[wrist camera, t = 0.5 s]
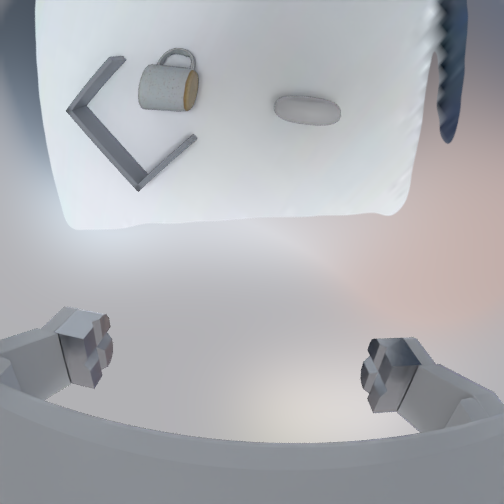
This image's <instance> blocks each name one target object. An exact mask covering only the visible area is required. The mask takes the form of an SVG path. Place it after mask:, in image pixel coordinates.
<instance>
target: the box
mask: <svg viewBox="0 0 504 504" xmlns="http://www.w3.org/2000/svg"><path fill="white" fill-rule="evenodd" d="M125 61H126V59H125V58H124V57H123V56H116V57H109V58H108V59H107V60H106V61H105V62H104V64H103V65H102V66H101V67H100V68H99V69H98V70H97V72H96V73H95V74H94V75H93V76H92V78H91V79H90V80H89V81H88V83H87V84H86V85H85V86H84V88H83V89H82V90H81V91H80V93H79V94H78V95H77V97H76V98H75V99H74V100H73V102H72V103H71V104H70V106H69V107H68V109H67V110H66V112H67V113H68V114H69V115H70V116H71V117H72V119H73V120H74V121H75V122H76V123H77V124H78V126H79V127H80V128H81V129H82V130H83V131H84V132H85V134H86V135H87V136H88V137H89V138H90V139H91V140H92V141H93V143H94V144H95V145H96V146H97V147H98V148H99V149H100V150H101V152H102V153H103V154H104V155H105V156H106V157H107V158H108V159H109V160H110V162H111V163H112V164H113V165H114V166H115V167H116V168H117V169H118V170H119V172H120V173H121V174H122V175H123V176H124V177H125V178H126V179H127V180H128V181H129V182H130V184H131V185H132V186H133V187H134V188H135V189H136V190H137V191H138V192H139V191H140V190H141V189H142V188H143V187H144V186H145V185H146V184H147V183H148V182H149V181H150V180H151V179H152V178H153V177H155V176H156V175H157V174H158V173H159V172H160V171H161V170H162V169H163V168H164V167H166V166H167V165H168V164H169V163H170V162H171V161H172V160H173V159H175V158H176V157H177V156H178V155H179V154H180V153H182V152H183V151H184V150H185V149H186V148H187V147H189V146H190V145H191V144H192V143H193V142H194V141H195V140H196V139H197V138H196V136H195V135H194V134H193V135H192V136H191V137H190V138H189V139H187V140H186V141H185V142H184V143H183V144H182V145H180V146H179V147H178V148H177V149H176V150H175V151H174V152H172V153H171V154H170V155H169V156H168V157H167V158H166V159H165V160H164V161H162V162H161V163H160V164H159V165H158V166H157V167H156V168H155V169H154V170H153V171H152V172H150V173H149V174H147V173H146V172H145V170H144V169H143V168H142V167H141V166H140V165H139V164H138V163H137V162H136V161H135V159H134V158H133V157H132V156H131V155H130V154H129V153H128V152H127V151H126V150H125V148H124V147H123V146H122V145H121V144H120V143H119V142H118V141H117V139H116V138H115V137H114V136H113V135H112V134H111V133H110V132H109V131H108V129H107V128H106V127H105V126H104V125H103V124H102V123H101V122H100V120H99V119H98V118H97V117H96V116H95V115H94V114H93V113H92V111H91V110H90V109H89V108H88V107H87V106H86V105H87V104H88V103H89V102H90V100H91V99H92V98H93V97H94V95H95V94H96V93H97V92H98V91H99V90H100V88H101V87H102V86H103V85H104V84H105V83H106V81H107V80H108V79H109V78H110V77H111V76H112V75H113V74H114V72H115V71H116V70H117V69H118V68H119V67H120V66H121V65H122V64H123V63H124V62H125Z"/></svg>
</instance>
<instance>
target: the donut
mask: <svg viewBox="0 0 504 504" xmlns="http://www.w3.org/2000/svg"><path fill="white" fill-rule="evenodd" d="M274 110H275V113H276V114H277V115H278V116H279V117H280V118H282V119H284V120H286V121H290V122H294V123H300V124H308V125H331V124H334V123H336V122H337V121H338V120H339V119H340V116H341V110H340V108H339V106H338V105H337V104H336V103H334V102H332V101H328V100H325V99H320V98H314V97H305V96H284V97H281V98H279V99H278V100H277V101H276V102H275V105H274Z"/></svg>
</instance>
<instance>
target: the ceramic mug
mask: <svg viewBox="0 0 504 504" xmlns="http://www.w3.org/2000/svg"><path fill="white" fill-rule="evenodd" d="M172 54H181V55H185V56H189V57H190V58H191V66H190V69H188V68H182V67H171V66H164V65H162V64H163V62H164V61H165V59H166V58H167V57H168V56H170V55H172ZM194 67H195V61H194V58H193V56H192V54H191V53H190V52H189V51H188V50H186V49H181V48H174V49H171V50H169V51H167V52H166V53H165V54H163V56H162V57H161V58H160V60H159V61H158V63H157V65H154V64H151V65H148V66H147V67H146V68H145V70H144V72H143V74H142V77H141V80H140V84H139V91H138V99H139V104H140V106H141V108H143V109H148V110H168V111H188V110H190V109H191V108H192V107H193V105H194V102H195V99H196V95H197V89H198V75H197V73H196V72H195V71H194Z"/></svg>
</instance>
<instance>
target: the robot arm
mask: <svg viewBox="0 0 504 504" xmlns="http://www.w3.org/2000/svg"><path fill="white" fill-rule="evenodd" d="M109 328H110V321H109V317H108V316H107V315H106V314H102V313H97V312H92V311H87V310H83V309H78V308H73V307H63V308H62V309H61V310H60V311H59V312H58V313H57V314H56V315H55V316H54V317H53V318H52V319H51V320H50V321H49V322H48V323H47V324H46V325H45V326H43V327H42V328H41V329H38V328H37V329H34V330H30V331H27V332H24V333H21V334H17V335H14V336H11V337H8V338H5V339H2V340H0V504H504V404H503V403H502V402H501V400H500V399H499V398H498V396H497V395H496V394H495V393H494V392H493V391H491V390H489V389H487V388H485V387H483V386H481V385H479V384H477V383H475V382H473V381H471V380H470V379H468V378H466V377H464V376H462V375H460V374H458V373H456V372H454V371H452V370H450V369H448V368H446V367H444V366H443V365H441V364H435V362H434V361H433V360H432V358H431V357H430V356H429V354H428V353H427V352H426V350H425V349H424V348H423V346H422V345H421V344H420V342H419V341H418V340H417V339H416V338H414V337H409V338H387V339H386V338H385V339H372V340H371V342H370V344H369V347H368V352H369V354H370V356H369V357H368V358H367V359H366V360H365V361H364V362H363V366H362V369H361V384H362V387H363V389H364V390H365V391H367V392H368V393H369V396H368V398H367V399H368V402H369V404H370V406H371V409H372V411H373V413H382V412H397V413H398V414H399V415H400V416H402V417H403V418H404V419H405V420H406V421H407V422H409V423H410V424H411V425H412V426H413V427H414V428H416V429H417V430H418V431H419V432H420V433H417V434H411V435H405V436H397V437H389V438H382V439H371V440H361V441H348V442H329V443H264V442H246V441H231V440H221V439H211V438H202V437H194V436H187V435H180V434H174V433H168V432H161V431H156V430H151V429H146V428H141V427H137V426H131V425H127V424H123V423H119V422H115V421H111V420H107V419H103V418H99V417H95V416H92V415H88V414H85V413H81V412H78V411H75V410H71V409H68V408H65V407H62V406H59V405H56V404H53V403H50V402H47V401H45V400H46V399H47V398H49V397H51V396H52V395H54V394H56V393H57V392H59V391H60V390H62V389H64V388H66V387H67V386H69V385H70V384H71V383H73V384H77V385H81V386H85V387H89V388H95V387H96V385H97V384H98V382H99V380H100V379H101V377H102V372H101V370H102V369H104V368H106V367H108V365H109V363H110V361H111V358H112V354H113V342H112V338H111V337H110V336H109V334H108V333H107V331H108V330H109Z"/></svg>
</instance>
